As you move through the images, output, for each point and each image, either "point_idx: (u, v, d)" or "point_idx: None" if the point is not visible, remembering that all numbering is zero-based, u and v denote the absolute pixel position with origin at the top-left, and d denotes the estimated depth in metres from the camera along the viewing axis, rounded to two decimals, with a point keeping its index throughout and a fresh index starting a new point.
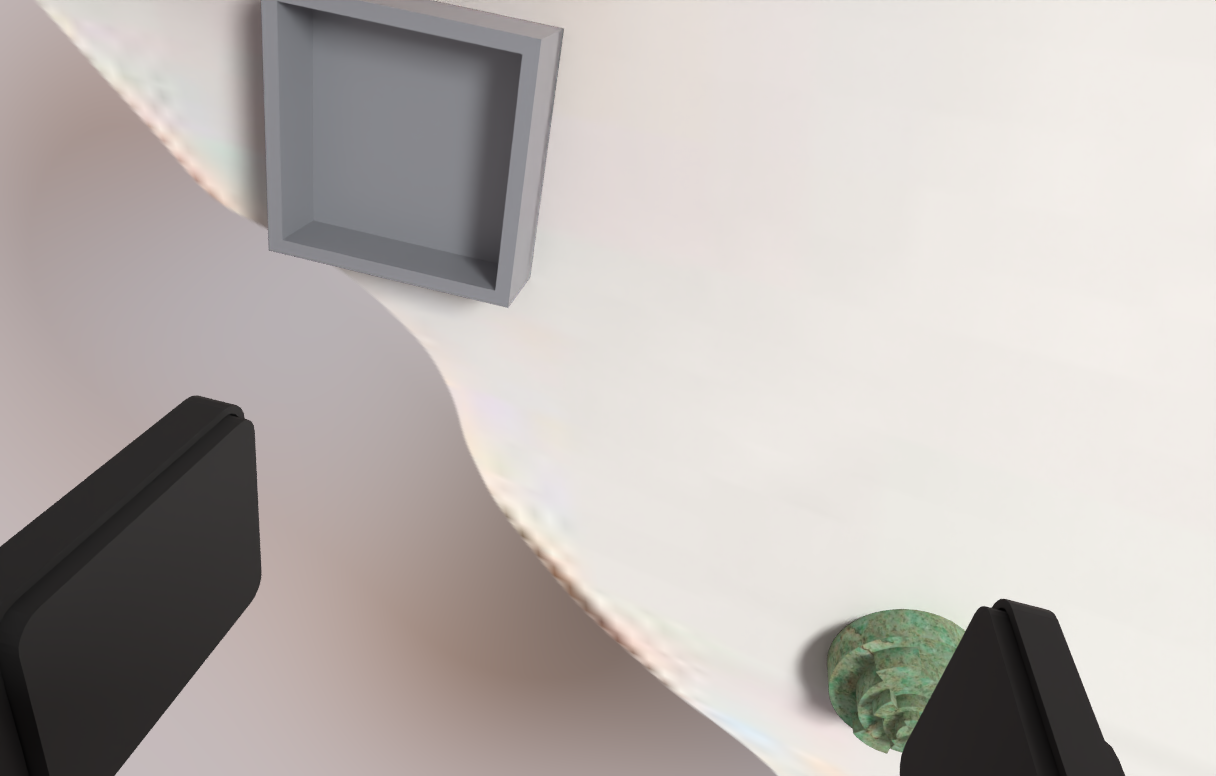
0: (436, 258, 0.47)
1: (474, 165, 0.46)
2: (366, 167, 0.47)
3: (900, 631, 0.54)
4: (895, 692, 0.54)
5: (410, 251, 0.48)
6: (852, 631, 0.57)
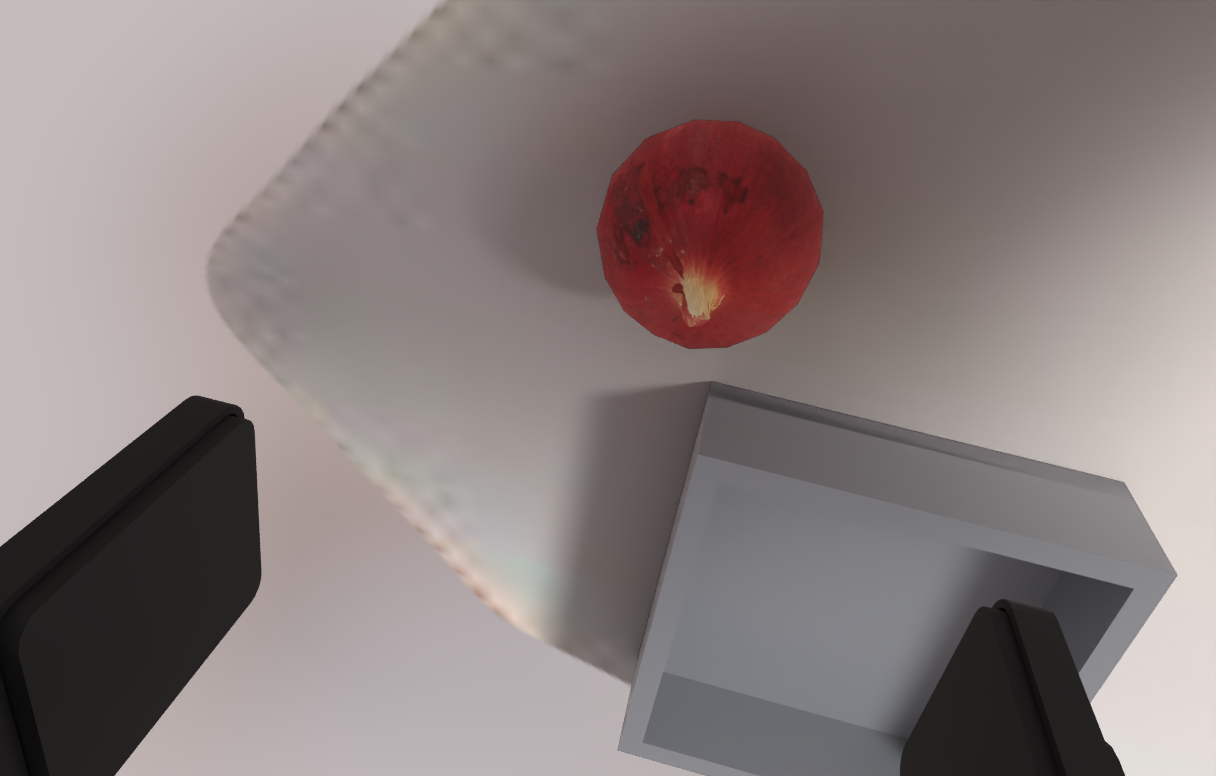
0: (853, 749, 0.32)
1: (932, 638, 0.31)
2: (756, 622, 0.32)
3: None
4: None
5: (812, 735, 0.33)
6: None
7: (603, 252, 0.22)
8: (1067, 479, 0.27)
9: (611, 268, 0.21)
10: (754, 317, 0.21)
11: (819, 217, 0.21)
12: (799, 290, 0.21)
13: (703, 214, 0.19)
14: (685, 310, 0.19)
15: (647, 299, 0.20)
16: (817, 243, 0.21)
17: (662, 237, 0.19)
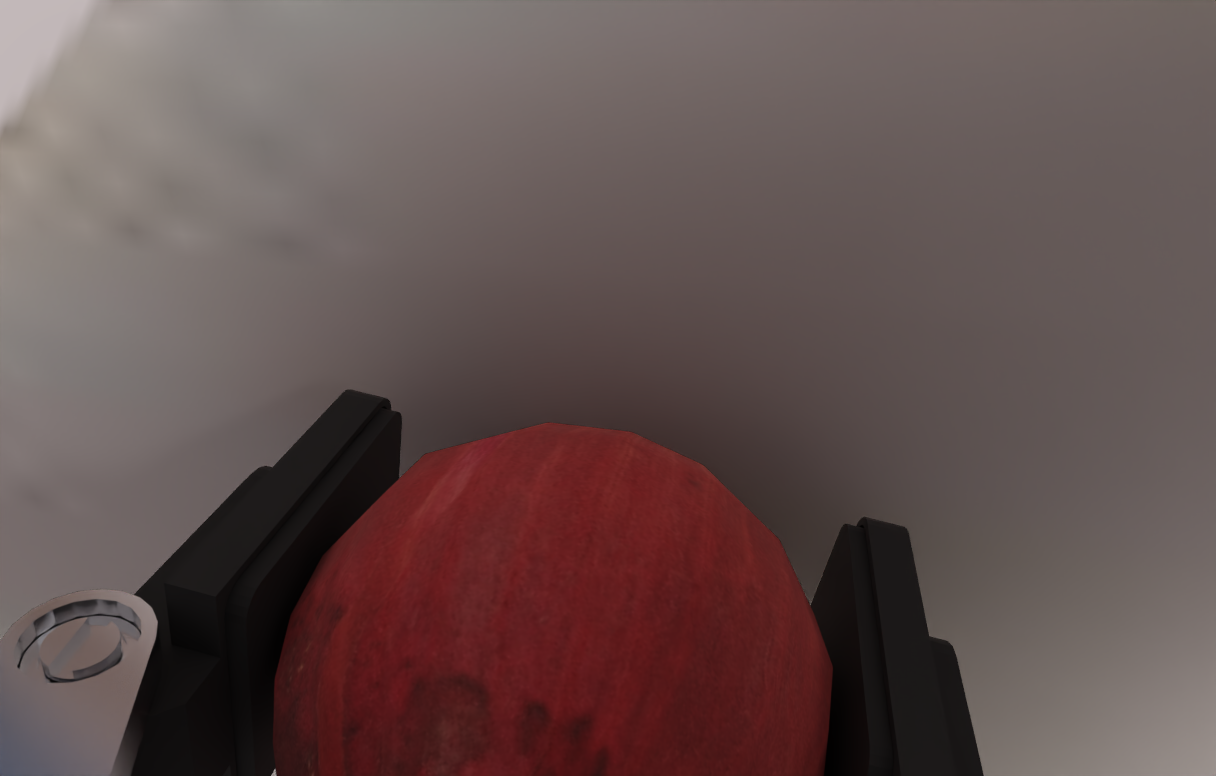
0: None
1: None
2: None
3: None
4: None
5: None
6: None
7: None
8: None
9: None
10: None
11: (823, 722, 0.08)
12: None
13: None
14: None
15: None
16: None
17: None
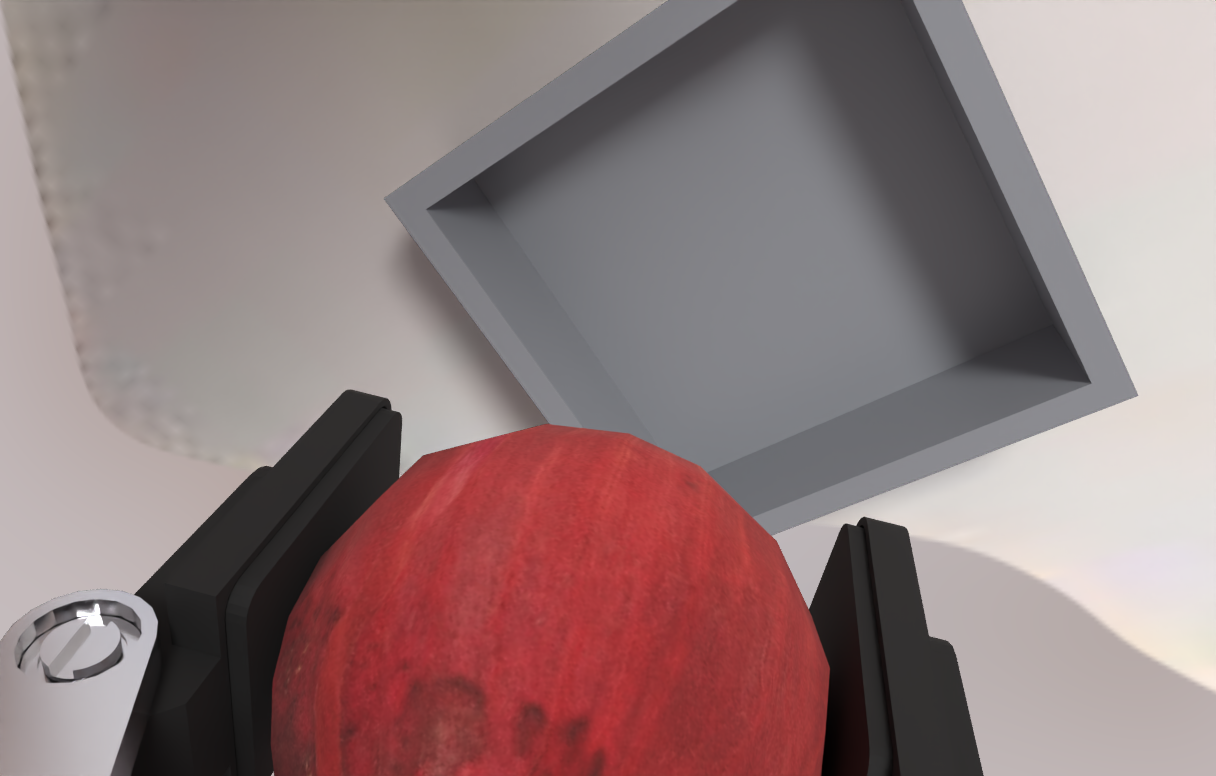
0: (915, 405, 0.24)
1: (873, 214, 0.23)
2: (705, 352, 0.26)
3: None
4: None
5: (863, 424, 0.25)
6: None
7: None
8: None
9: None
10: None
11: (820, 724, 0.08)
12: None
13: None
14: None
15: None
16: None
17: None
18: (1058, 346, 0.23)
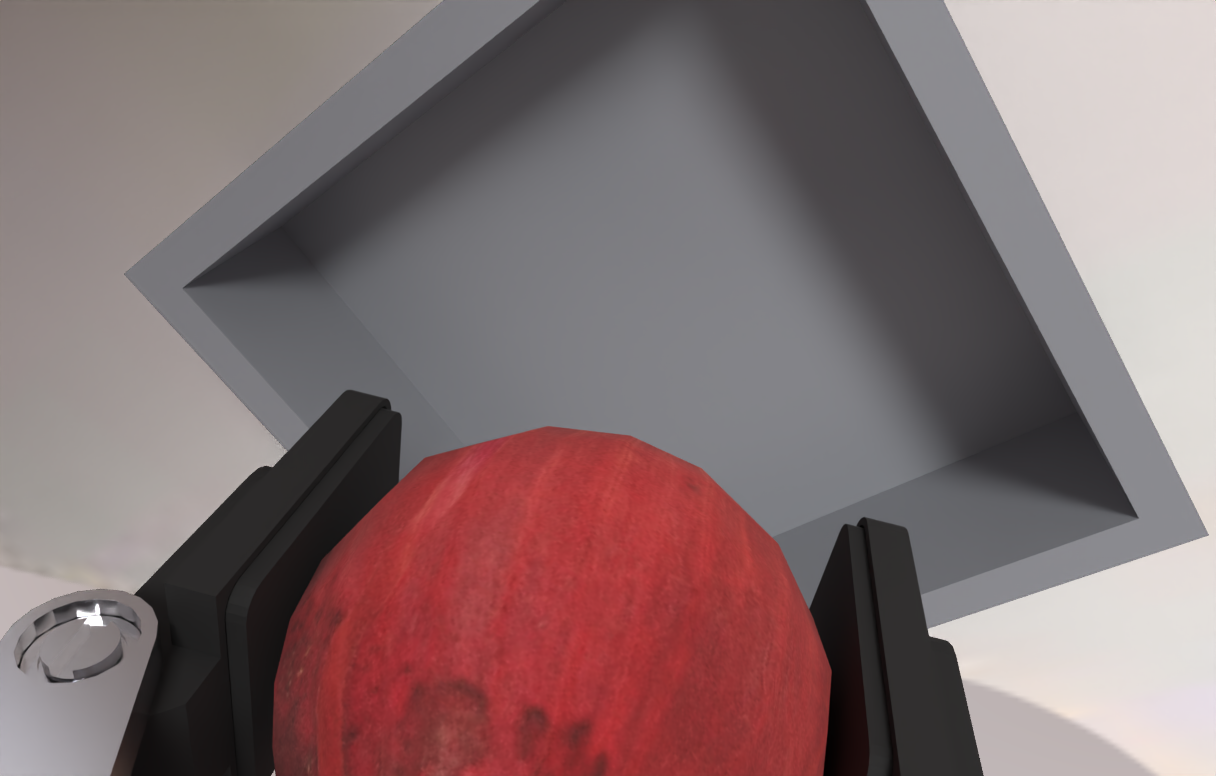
0: None
1: (821, 269, 0.17)
2: None
3: None
4: None
5: (822, 546, 0.19)
6: None
7: None
8: None
9: None
10: None
11: (821, 726, 0.08)
12: None
13: None
14: None
15: None
16: None
17: None
18: (1086, 448, 0.16)
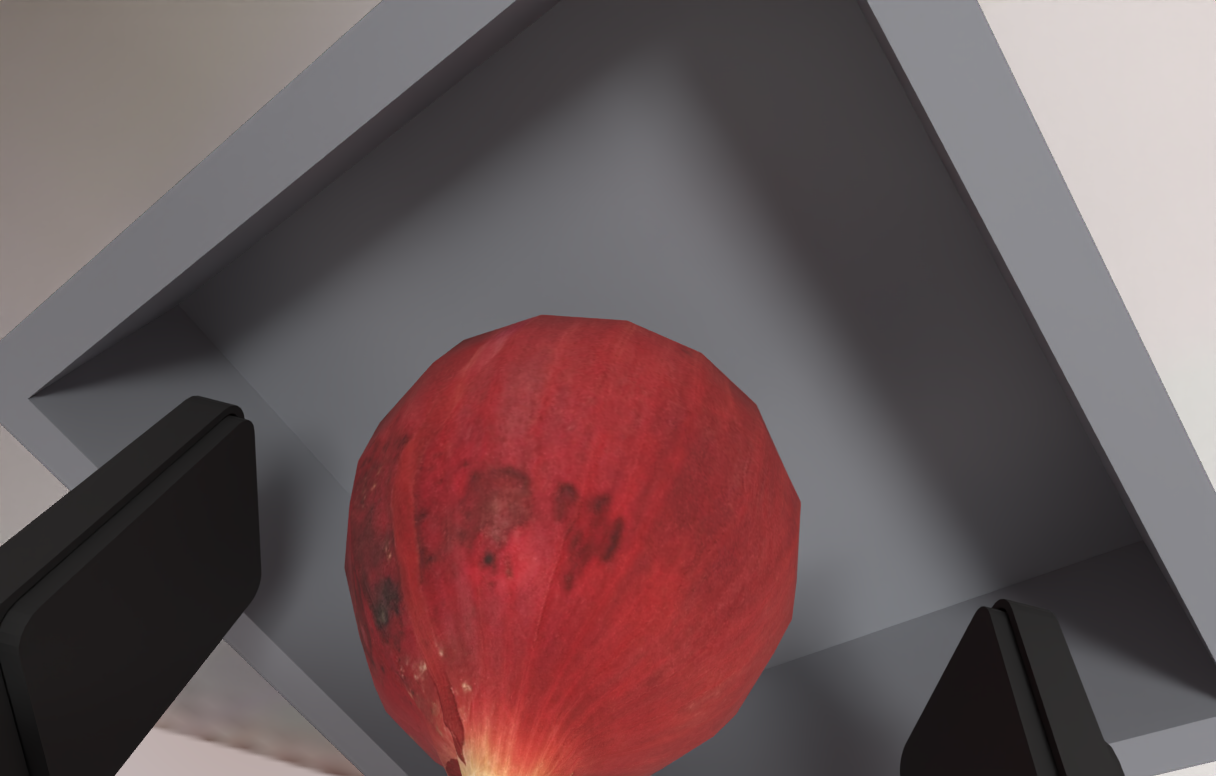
0: (914, 671, 0.15)
1: (829, 367, 0.14)
2: None
3: None
4: None
5: (830, 691, 0.15)
6: None
7: None
8: None
9: None
10: (654, 769, 0.09)
11: (792, 533, 0.10)
12: (753, 684, 0.10)
13: (515, 594, 0.08)
14: None
15: (415, 739, 0.09)
16: (789, 585, 0.10)
17: (424, 638, 0.08)
18: (1159, 594, 0.13)
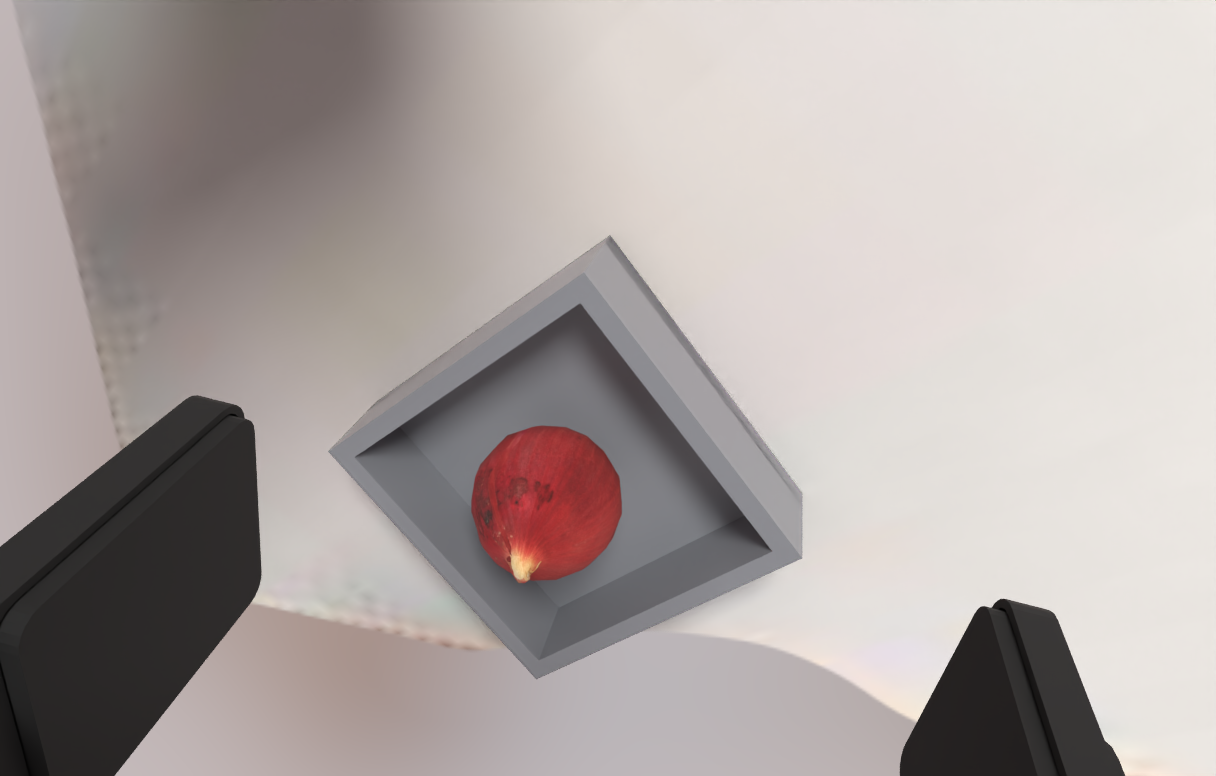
0: (691, 557, 0.36)
1: (646, 436, 0.35)
2: None
3: None
4: None
5: (662, 569, 0.37)
6: None
7: (474, 519, 0.33)
8: (566, 268, 0.33)
9: (478, 532, 0.32)
10: (568, 567, 0.31)
11: (611, 496, 0.32)
12: (601, 544, 0.32)
13: (524, 511, 0.30)
14: (513, 575, 0.30)
15: (497, 559, 0.31)
16: (611, 512, 0.32)
17: (499, 525, 0.30)
18: None
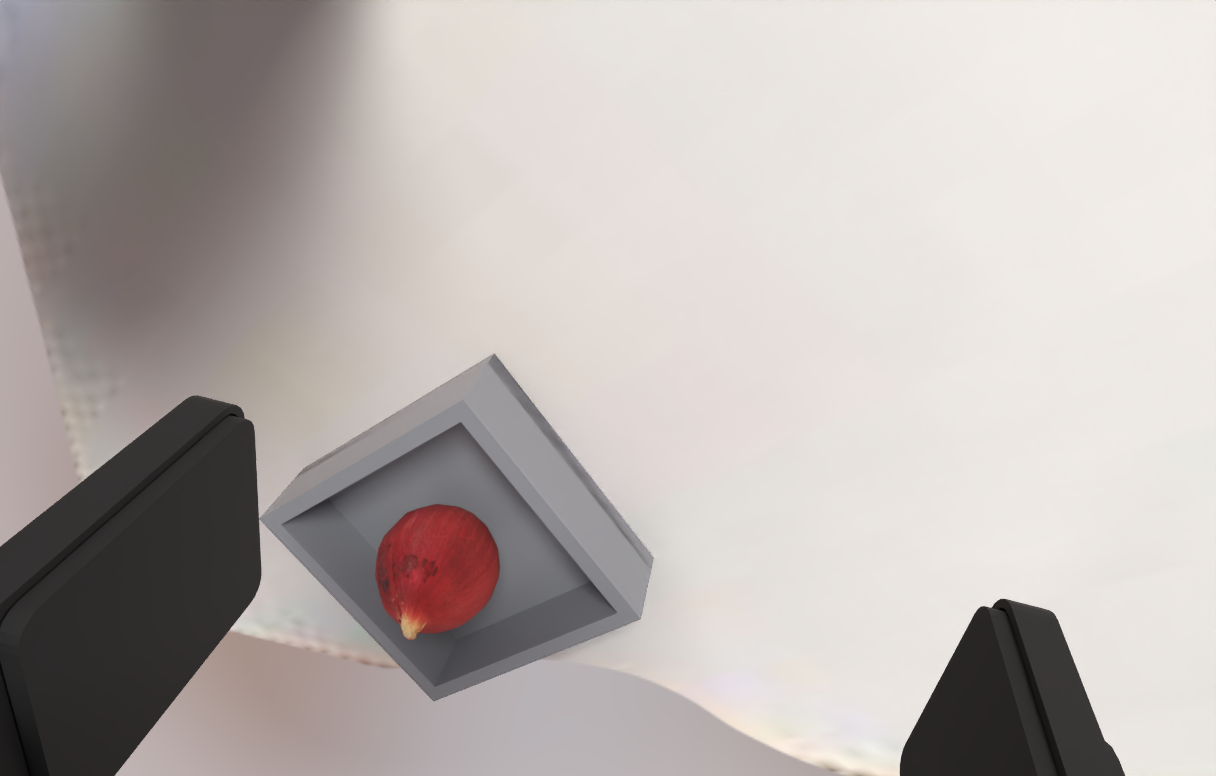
0: (560, 608, 0.44)
1: (525, 510, 0.43)
2: None
3: None
4: None
5: (538, 616, 0.45)
6: None
7: (377, 581, 0.40)
8: (458, 379, 0.40)
9: None
10: (450, 625, 0.39)
11: (487, 567, 0.40)
12: (478, 605, 0.40)
13: (413, 583, 0.38)
14: (403, 634, 0.38)
15: (392, 617, 0.39)
16: (487, 580, 0.40)
17: (393, 593, 0.38)
18: None
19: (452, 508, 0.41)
